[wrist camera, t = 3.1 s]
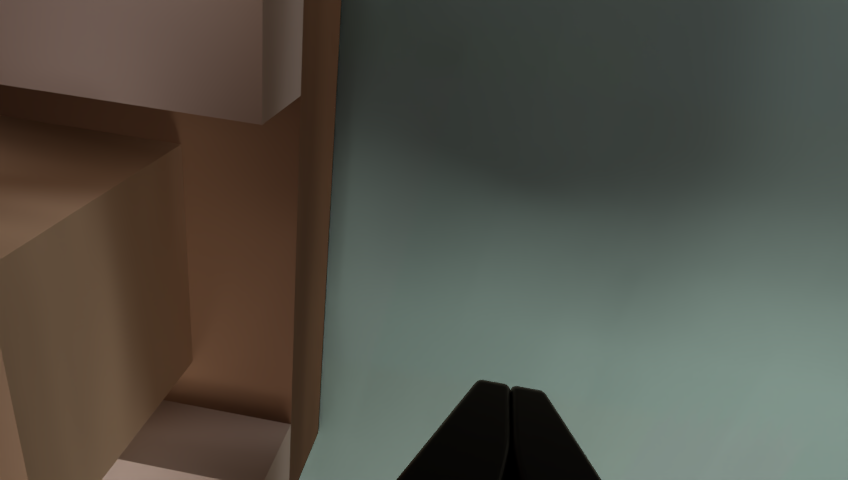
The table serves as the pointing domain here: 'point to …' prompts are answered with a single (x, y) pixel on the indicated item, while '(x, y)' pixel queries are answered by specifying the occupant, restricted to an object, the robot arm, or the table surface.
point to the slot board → (212, 199)
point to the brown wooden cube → (87, 294)
